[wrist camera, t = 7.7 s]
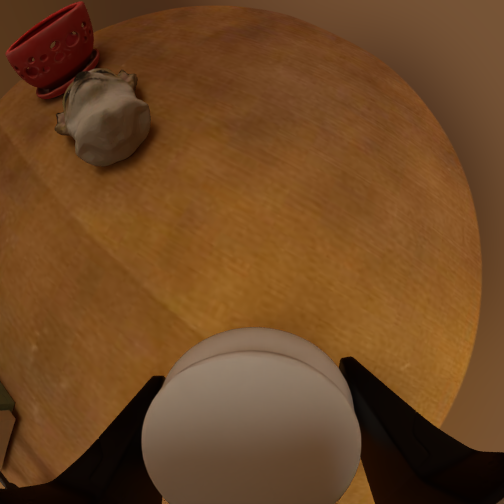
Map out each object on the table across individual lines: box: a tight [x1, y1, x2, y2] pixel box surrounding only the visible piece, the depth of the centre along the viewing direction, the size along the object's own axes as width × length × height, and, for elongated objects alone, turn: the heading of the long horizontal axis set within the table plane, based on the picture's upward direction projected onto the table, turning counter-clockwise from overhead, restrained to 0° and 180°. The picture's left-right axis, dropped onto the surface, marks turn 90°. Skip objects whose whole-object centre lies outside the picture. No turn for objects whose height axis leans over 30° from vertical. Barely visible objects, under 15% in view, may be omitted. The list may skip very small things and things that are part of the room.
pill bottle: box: [142, 327, 361, 504], centre depth 10 cm, size 6×6×11 cm
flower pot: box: [6, 1, 100, 99], centre depth 25 cm, size 13×13×12 cm
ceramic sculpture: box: [55, 68, 151, 166], centre depth 21 cm, size 11×9×15 cm
